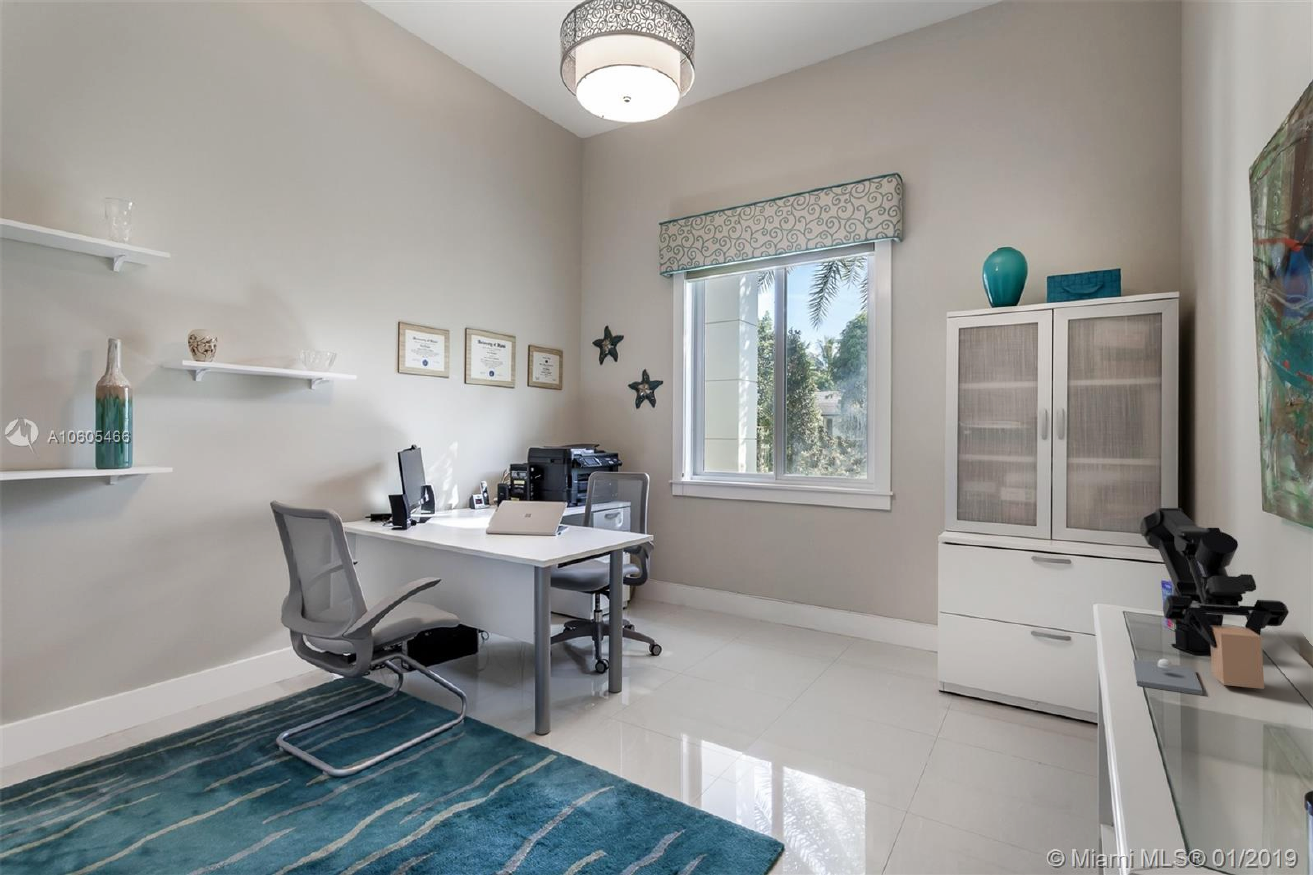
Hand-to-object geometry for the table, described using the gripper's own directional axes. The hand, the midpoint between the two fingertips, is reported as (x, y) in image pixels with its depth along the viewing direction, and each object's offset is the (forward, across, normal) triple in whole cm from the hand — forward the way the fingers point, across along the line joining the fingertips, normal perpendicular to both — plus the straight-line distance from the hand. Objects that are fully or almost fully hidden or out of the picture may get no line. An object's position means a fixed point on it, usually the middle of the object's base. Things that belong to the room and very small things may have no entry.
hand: (1236, 648), depth 122 cm
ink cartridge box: (-23, +4, +35) cm, 42 cm away
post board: (+5, -11, +6) cm, 14 cm away
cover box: (+4, 0, +5) cm, 7 cm away
